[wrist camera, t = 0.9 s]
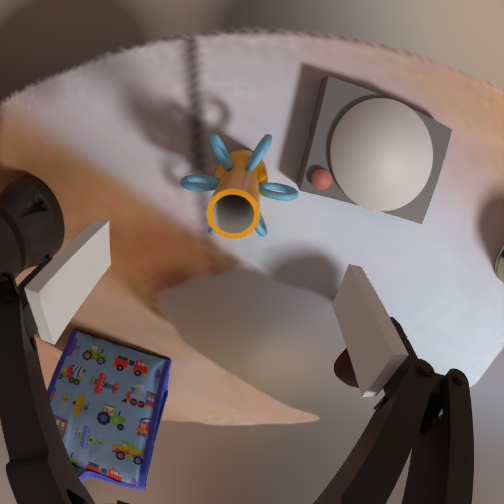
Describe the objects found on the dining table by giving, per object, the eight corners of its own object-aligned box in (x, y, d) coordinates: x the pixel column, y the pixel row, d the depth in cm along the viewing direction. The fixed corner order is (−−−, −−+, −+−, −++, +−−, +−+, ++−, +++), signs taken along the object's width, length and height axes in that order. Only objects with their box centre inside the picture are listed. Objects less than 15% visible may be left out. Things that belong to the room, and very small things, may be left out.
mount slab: (296, 184, 35) (300, 192, 32) (322, 78, 29) (330, 75, 25) (412, 216, 37) (424, 226, 33) (439, 126, 30) (454, 130, 27)
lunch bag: (83, 364, 54) (39, 465, 29) (73, 325, 48) (11, 439, 23) (169, 392, 57) (144, 507, 31) (172, 356, 51) (138, 496, 25)
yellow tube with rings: (182, 149, 33) (135, 178, 20) (257, 110, 31) (259, 109, 18) (227, 230, 38) (213, 298, 25) (299, 197, 36) (325, 252, 23)
